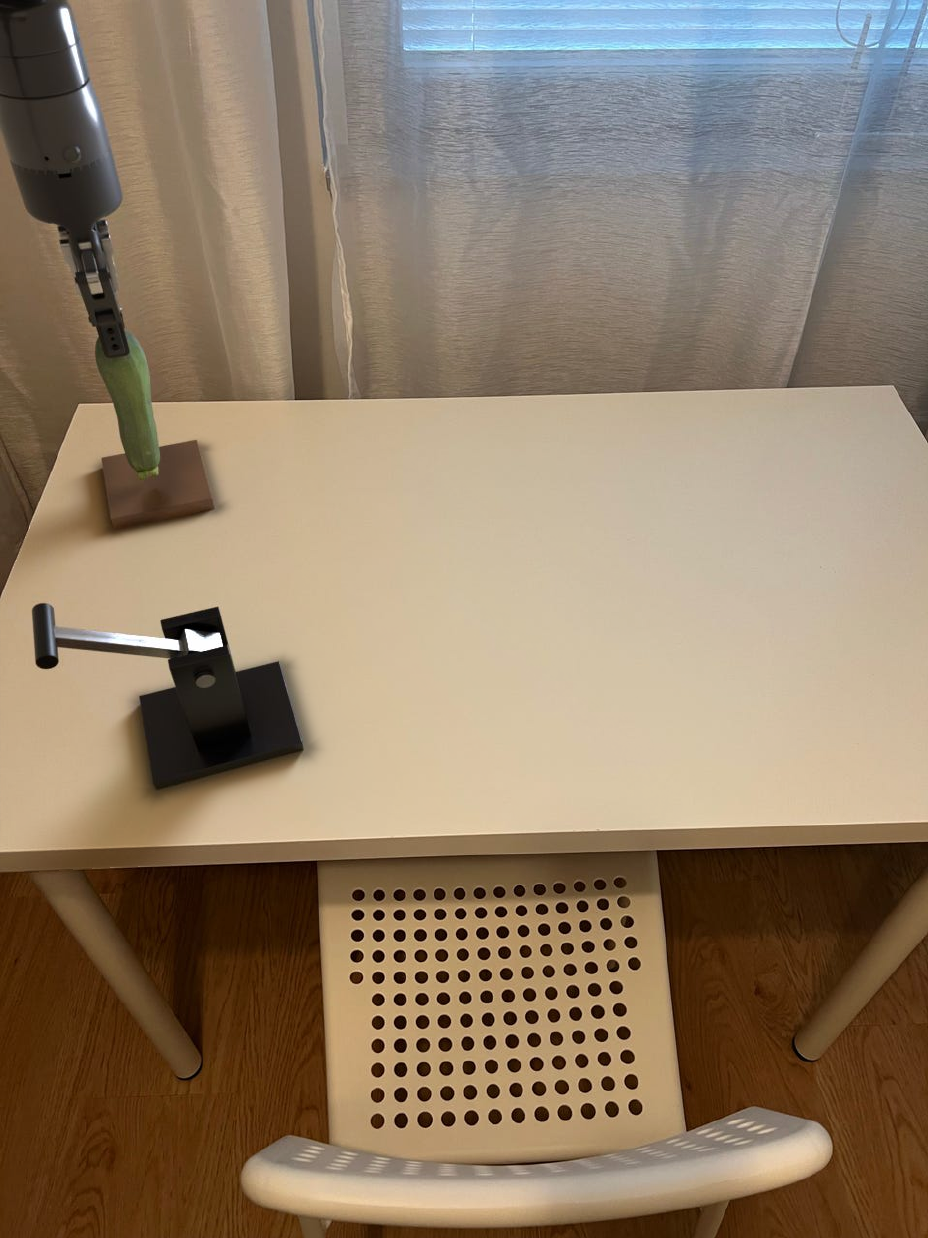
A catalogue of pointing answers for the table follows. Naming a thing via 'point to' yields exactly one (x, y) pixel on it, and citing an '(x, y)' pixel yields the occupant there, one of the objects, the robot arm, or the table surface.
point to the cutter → (215, 711)
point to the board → (157, 486)
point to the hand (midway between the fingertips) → (115, 341)
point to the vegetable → (132, 405)
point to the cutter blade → (109, 640)
